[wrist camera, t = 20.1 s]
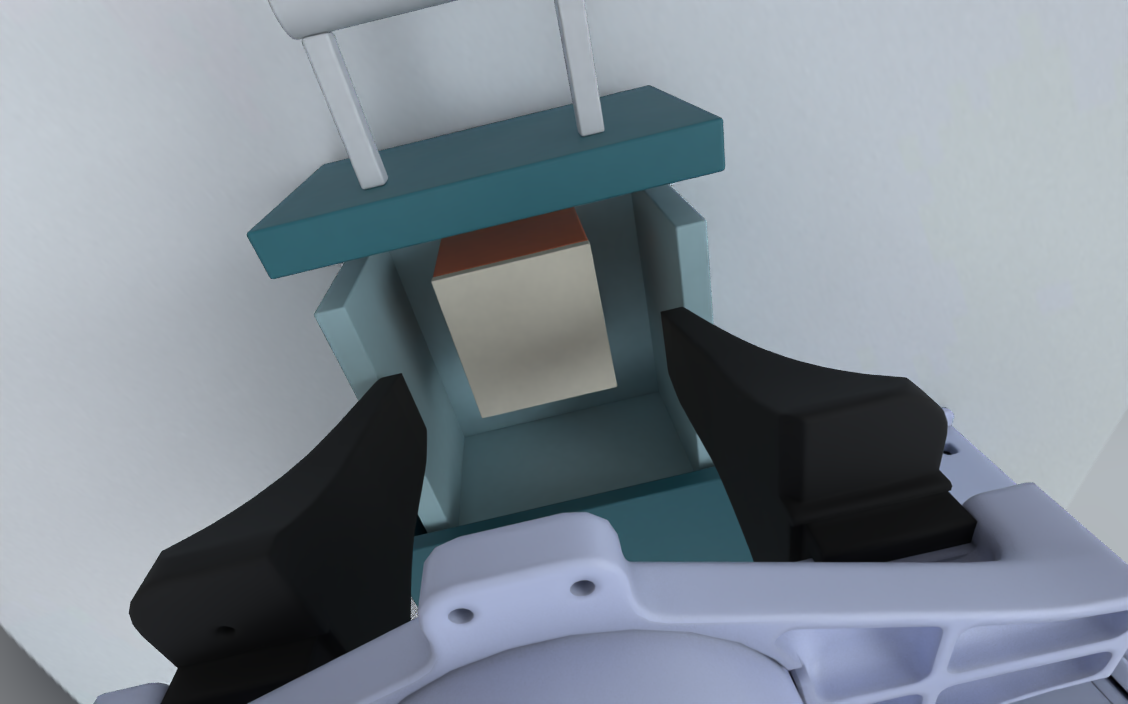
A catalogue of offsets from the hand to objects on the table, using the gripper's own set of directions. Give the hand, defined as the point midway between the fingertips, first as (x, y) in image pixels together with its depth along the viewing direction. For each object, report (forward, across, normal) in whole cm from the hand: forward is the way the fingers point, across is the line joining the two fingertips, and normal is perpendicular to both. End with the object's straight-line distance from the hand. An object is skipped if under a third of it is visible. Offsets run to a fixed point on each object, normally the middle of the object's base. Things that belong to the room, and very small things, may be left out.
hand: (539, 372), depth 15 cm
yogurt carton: (+6, 0, 0) cm, 6 cm away
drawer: (+7, 0, -2) cm, 7 cm away
